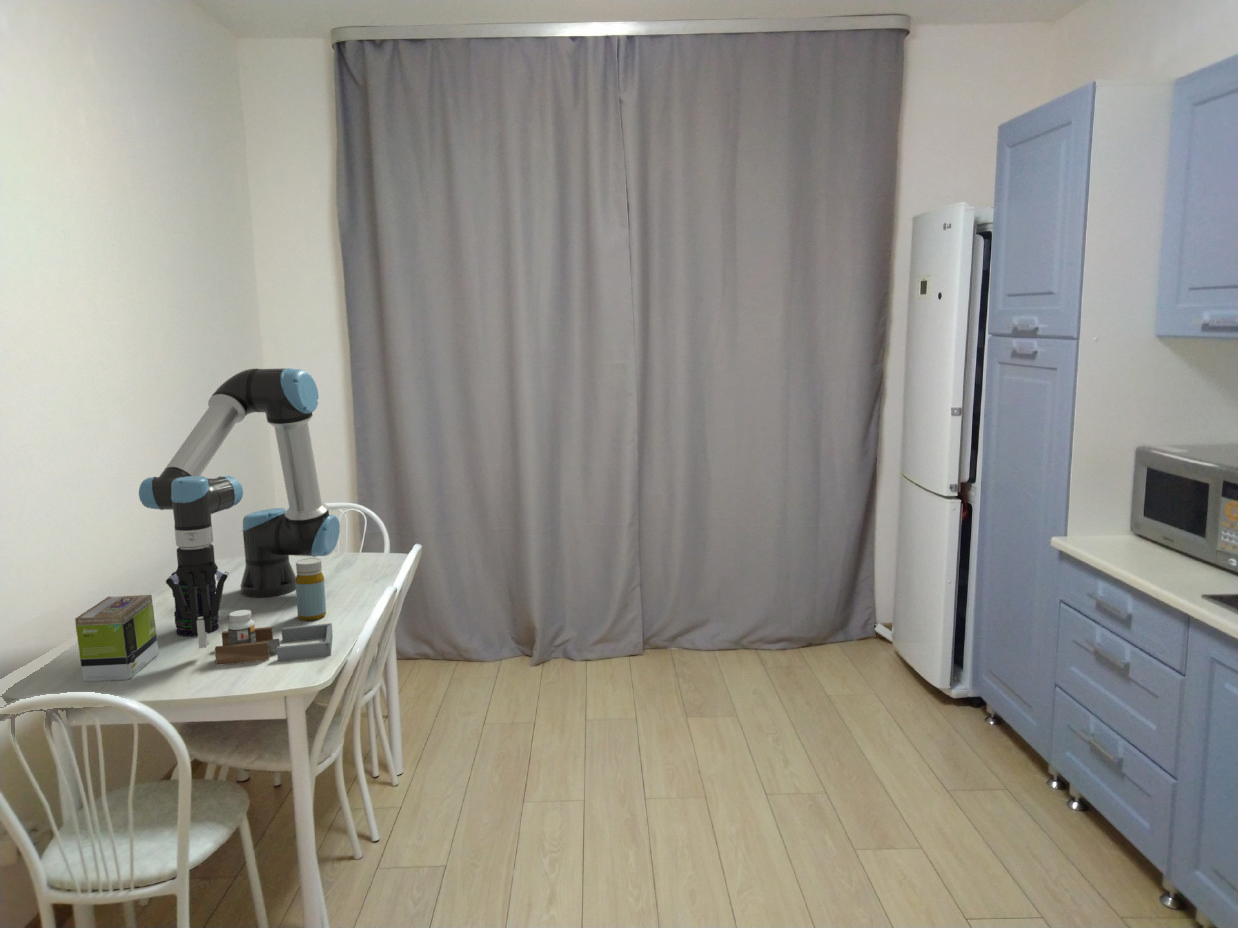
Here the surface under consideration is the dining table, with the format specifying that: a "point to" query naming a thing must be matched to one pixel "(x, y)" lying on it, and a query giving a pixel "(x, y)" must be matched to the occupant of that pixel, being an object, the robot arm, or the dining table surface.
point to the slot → (244, 648)
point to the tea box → (116, 638)
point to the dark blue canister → (186, 624)
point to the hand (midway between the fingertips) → (203, 645)
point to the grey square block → (272, 645)
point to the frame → (309, 648)
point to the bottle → (310, 589)
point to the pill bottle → (241, 628)
